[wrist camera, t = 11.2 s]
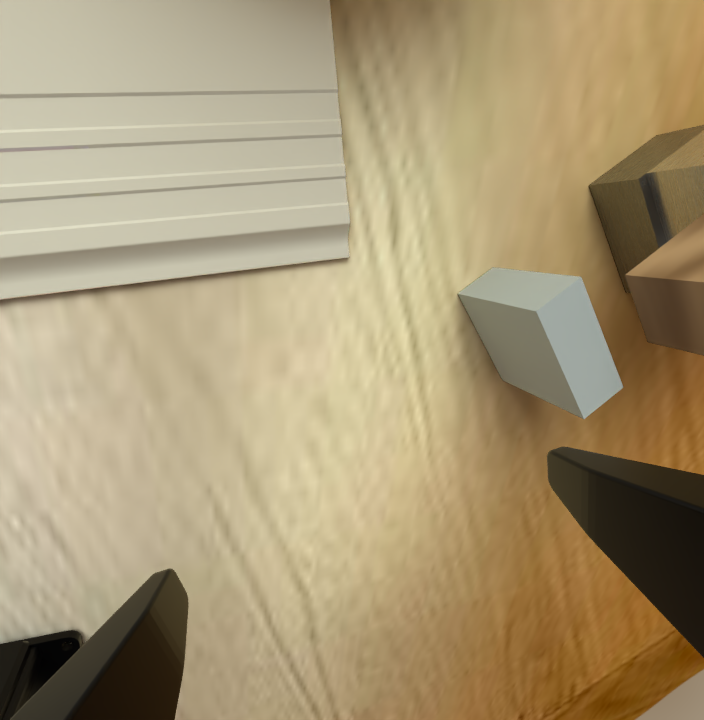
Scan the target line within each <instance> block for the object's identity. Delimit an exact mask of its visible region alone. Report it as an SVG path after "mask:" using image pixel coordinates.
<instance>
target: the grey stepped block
mask: <svg viewBox="0 0 704 720" xmlns="http://www.w3.org/2000/svg"><path fill="white" fill-rule="evenodd" d="M589 187H590V190H591V193H592V195H593V198H594V201H595V204H596V207H597V210H598V213H599V216H600V219H601V222H602V225H603V228H604V230H605V233H606V236H607V239H608V242H609V245H610V248H611V251H612V254H613V257H614V260H615V262H616V265H617V268H618V271H619V274H620V277H621V280H622V283H623V286H624V289H625V292H626V293H631V291H630V288H629V285H628V283H627V280H626V277H625V275H626V274H627V273H628V272H629V271H631V270H632V269H633V268H635V267H636V266H637V265H638V264H640V263H641V262H642V261H644V260H645V259H646V258H647V257H649V256H650V255H651V254H653V253H654V252H655V251H656V250H658V249H659V248H660V247H662V246H663V245H664V244H665V243H667V242H668V241H669V240H671V239H672V238H673V237H674V236H676V235H677V234H678V233H680V232H681V231H682V230H683V229H685V228H686V227H687V226H689V225H690V224H691V223H692V222H694V221H695V220H696V219H698V218H699V217H700V216H701V215H703V214H704V125H701V126H697V127H692V128H688V129H683V130H679V131H674V132H670V133H665V134H660V135H656V136H655V137H654V138H652V139H651V140H650V141H648V142H647V143H646V144H644V145H643V146H642V147H640V148H639V149H638V150H636V151H635V152H633V153H632V154H631V155H629V156H628V157H627V158H625V159H624V160H623V161H621V162H620V163H619V164H617V165H616V166H615V167H613V168H612V169H610V170H609V171H608V172H606V173H605V174H604V175H602V176H601V177H600V178H598V179H597V180H596V181H594V182H593V183H592V184H590V185H589Z"/></svg>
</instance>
